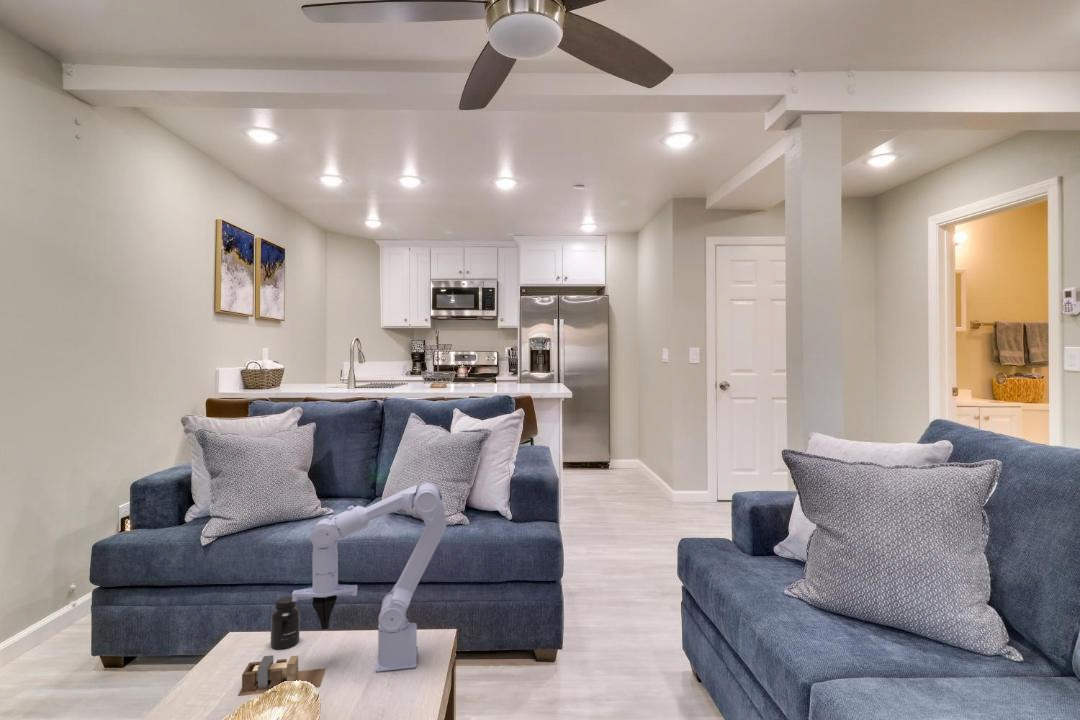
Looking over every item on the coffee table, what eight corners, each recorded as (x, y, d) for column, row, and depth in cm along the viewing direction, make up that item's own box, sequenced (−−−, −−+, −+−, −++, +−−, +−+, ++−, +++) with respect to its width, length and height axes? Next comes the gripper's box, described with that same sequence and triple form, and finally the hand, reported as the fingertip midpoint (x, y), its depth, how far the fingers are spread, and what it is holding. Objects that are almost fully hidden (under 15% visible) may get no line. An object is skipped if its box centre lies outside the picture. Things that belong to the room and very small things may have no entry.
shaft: (298, 674, 131) (298, 655, 131) (294, 683, 127) (294, 663, 127) (256, 679, 129) (256, 659, 129) (251, 687, 125) (251, 667, 125)
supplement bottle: (288, 654, 142) (288, 606, 142) (264, 651, 143) (264, 604, 144) (305, 641, 149) (305, 595, 149) (282, 639, 150) (282, 593, 150)
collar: (273, 676, 130) (273, 655, 130) (267, 689, 125) (267, 666, 125) (264, 677, 130) (264, 656, 130) (257, 690, 125) (257, 667, 125)
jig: (326, 671, 134) (326, 652, 134) (319, 690, 126) (319, 669, 126) (248, 679, 131) (248, 659, 131) (237, 699, 123) (237, 678, 123)
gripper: (358, 562, 141) (358, 617, 141) (296, 567, 138) (296, 623, 138) (355, 572, 134) (355, 629, 134) (290, 578, 131) (290, 636, 131)
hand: (325, 627), depth 135 cm, fingers closed
